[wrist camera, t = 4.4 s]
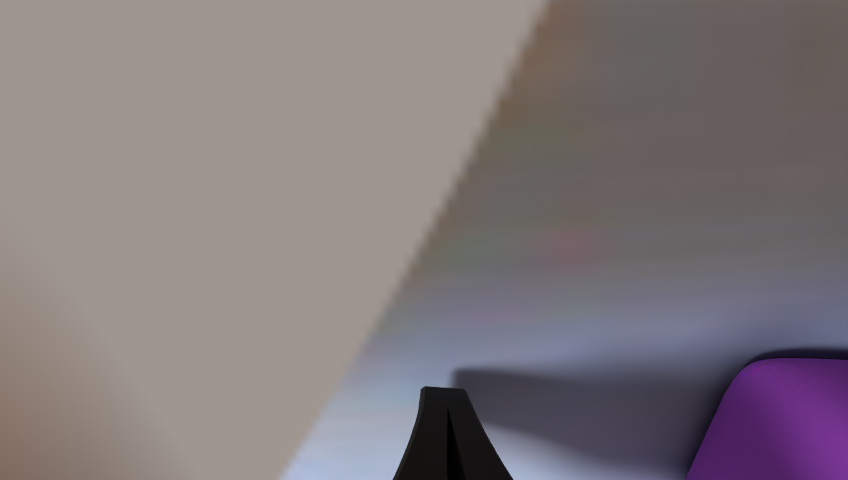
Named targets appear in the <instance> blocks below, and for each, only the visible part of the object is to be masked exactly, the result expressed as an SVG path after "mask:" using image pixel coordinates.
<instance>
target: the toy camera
mask: <svg viewBox="0 0 848 480" xmlns="http://www.w3.org/2000/svg"><path fill="white" fill-rule="evenodd" d="M685 480H848V360H836V359H808V358H776V359H765V360H761V361H757V362H753V363H751V364H749V365H748V366H746V367H745V368H743V369H742V370H741V371H740V372H739V373H738V375H737V376H736V377H735V378H734V379H733V381H732V382H731V384H730V386H729V387H728V389H727V391H726V393H725V394H724V396H723V398H722V400H721V402H720V405H719V407H718V409H717V411H716V413H715V415H714V418H713V420H712V422H711V424H710V426H709V428H708V431H707V433H706V435H705V437H704V439H703V441H702V444H701V446H700V448H699V450H698V452H697V455H696V457H695V459H694V461H693V463H692V465H691V468H690V470H689V472H688V474H687V476H686V478H685Z"/></svg>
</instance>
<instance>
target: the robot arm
mask: <svg viewBox="0 0 848 480" xmlns="http://www.w3.org/2000/svg"><path fill="white" fill-rule="evenodd" d="M393 480H513V478H512V477H511V475H510V474H509V472H508V471H507V469H506V467H505V466H504V464H503V463H502V461H501V459H500V458H499V456H498V454H497V453H496V451H495V449H494V447H493V445H492V444H491V442H490V440H489V438H488V436H487V435H486V433H485V431H484V429H483V427H482V425H481V423H480V421H479V419H478V417H477V415H476V413H475V411H474V409H473V406H472V404H471V402H470V399H469V397H468V394H467V392H466V391H465V390H464V389H454V388H440V387H427V386H425V387H423V388H422V389H421V393H420V401H419V409H418V414H417V418H416V422H415V425H414V428H413V431H412V434H411V437H410V440H409V443H408V445H407V448H406V450H405V453H404V455H403V458H402V460H401V462H400V465H399V467H398V469H397V472H396V474H395V476H394V478H393Z"/></svg>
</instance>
